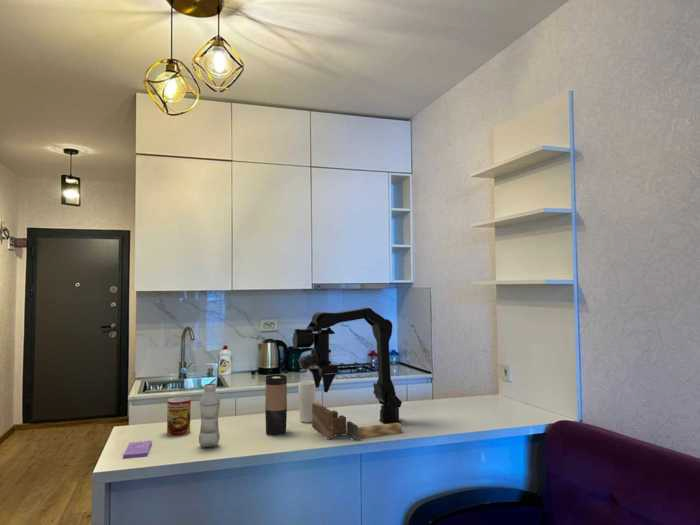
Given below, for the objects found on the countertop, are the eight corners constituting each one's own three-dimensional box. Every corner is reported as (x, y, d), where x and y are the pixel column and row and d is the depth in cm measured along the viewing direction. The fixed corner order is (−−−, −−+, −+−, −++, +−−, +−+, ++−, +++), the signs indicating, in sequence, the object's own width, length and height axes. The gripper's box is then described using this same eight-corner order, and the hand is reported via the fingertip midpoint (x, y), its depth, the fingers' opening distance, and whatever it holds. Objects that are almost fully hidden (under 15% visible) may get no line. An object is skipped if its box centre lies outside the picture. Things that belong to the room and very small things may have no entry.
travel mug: (290, 430, 180) (290, 375, 181) (280, 436, 172) (280, 378, 173) (271, 428, 182) (271, 374, 183) (261, 434, 175) (261, 377, 176)
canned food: (166, 437, 173) (166, 402, 173) (168, 431, 180) (168, 397, 181) (189, 435, 175) (190, 400, 175) (190, 429, 182) (191, 396, 183)
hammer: (395, 429, 181) (395, 415, 181) (404, 434, 175) (404, 420, 175) (347, 436, 173) (347, 421, 174) (354, 441, 167) (354, 426, 168)
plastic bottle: (200, 443, 165) (201, 383, 166) (221, 443, 166) (222, 382, 167) (196, 449, 159) (197, 386, 160) (218, 449, 159) (218, 386, 160)
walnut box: (332, 425, 187) (332, 400, 187) (349, 436, 172) (348, 410, 173) (312, 427, 184) (312, 402, 184) (327, 439, 169) (327, 412, 170)
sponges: (152, 445, 165) (152, 440, 165) (147, 458, 153) (147, 452, 153) (129, 447, 163) (129, 442, 163) (122, 460, 151) (122, 454, 151)
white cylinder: (313, 424, 188) (313, 384, 189) (296, 423, 190) (296, 383, 191) (317, 419, 195) (317, 381, 196) (301, 418, 196) (301, 380, 197)
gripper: (292, 345, 187) (292, 387, 186) (308, 350, 170) (308, 397, 169) (320, 343, 191) (320, 384, 190) (338, 349, 174) (338, 394, 173)
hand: (321, 389), depth 181 cm, fingers open, 9 cm apart
